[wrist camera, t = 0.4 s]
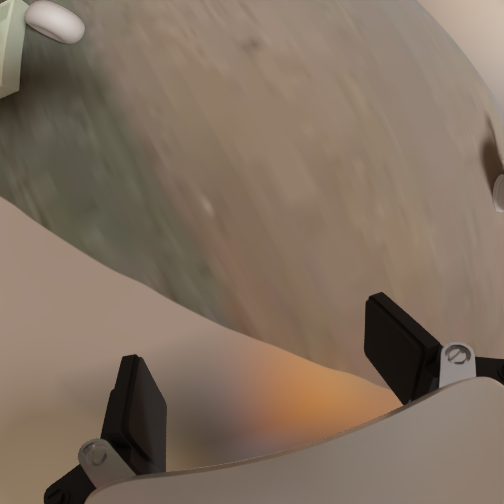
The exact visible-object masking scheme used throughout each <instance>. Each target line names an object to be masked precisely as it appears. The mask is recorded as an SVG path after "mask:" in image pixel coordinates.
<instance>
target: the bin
mask: <svg viewBox="0 0 504 504" xmlns="http://www.w3.org/2000/svg"><path fill="white" fill-rule="evenodd" d="M28 7H29V5H27V4H26V3H25V2H24V1H22V0H7V1H5V2H3V3H1V4H0V99H1V98H3V97H6V96H8V95H10V94H12V93H15V92H17V91H19V84H20V69H21V58H22V49H23V41H24V34H25V28H26V21H25V12H26V10H27V9H28Z"/></svg>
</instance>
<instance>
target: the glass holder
mask: <svg viewBox="0 0 504 504" xmlns="http://www.w3.org/2000/svg"><path fill="white" fill-rule="evenodd" d="M493 204H494V207H495V209H496V210H497V211H498V212H504V174H501V175H499V176H498V177H497V179H496V181H495V184H494V188H493Z"/></svg>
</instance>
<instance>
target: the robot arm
mask: <svg viewBox="0 0 504 504" xmlns="http://www.w3.org/2000/svg"><path fill="white" fill-rule="evenodd" d="M364 352H365V355H366V357H367V358H368V359H369V360H370V362H371V363H372V364H373V366H374V367H375V368H376V370H377V371H378V372H379V374H380V375H381V376H382V377H383V379H384V380H385V381H386V383H387V384H388V385H389V387H390V388H391V389H392V391H393V392H394V393H395V395H396V396H397V397H398V399H399V400H400V401H401V403H402V404H403V405H404V406H402V407H400V408H397V409H396V410H393V411H391V412H389V413H387V414H384V415H382V416H380V417H378V418H375V419H373V420H371V421H368V422H366V423H363V424H361V425H359V426H356V427H353V428H351V429H349V430H345V431H343V432H340V433H338V434H335V435H332V436H329V437H326V438H323V439H320V440H317V441H315V442H311V443H308V444H305V445H301V446H298V447H295V448H291V449H288V450H284V451H280V452H276V453H272V454H269V455H265V456H260V457H256V458H251V459H247V460H242V461H237V462H232V463H227V464H221V465H215V466H209V467H202V468H195V469H188V470H180V471H171V472H166V416H167V406H166V402H165V400H164V398H163V396H162V394H161V392H160V391H159V389H158V387H157V385H156V383H155V381H154V379H153V378H152V375H151V373H150V371H149V370H148V368H147V366H146V364H145V362H144V360H143V358H142V357H138V356H137V355H136V354H135V355H128V356H123V357H122V361H121V364H120V368H119V372H118V377H117V380H116V384H115V388H114V389H113V390H112V391H111V393H110V397H109V401H108V405H107V410H106V414H105V418H104V423H103V428H102V433H101V437H100V439H92V440H89V441H87V442H86V443H85V444H84V445H82V447H81V448H80V450H79V453H78V460H79V463H80V464H79V465H78V466H76V467H75V468H74V469H72V470H71V471H70V472H68V473H67V474H66V475H65V476H63V477H62V478H60V479H59V480H58V481H56V482H55V483H53V484H52V485H51V486H50V487H49V488H48V489H47V490H46V492H45V494H44V504H504V359H495V358H483V357H475V355H474V351H473V350H472V348H471V347H470V346H468V345H467V344H464V343H460V342H452V343H449V344H447V345H446V346H444V347H443V346H442V345H441V344H440V342H438V341H437V340H436V339H435V338H434V337H433V336H432V335H431V334H430V333H429V332H427V331H426V330H425V329H424V328H423V327H422V326H421V325H420V324H419V323H417V322H416V321H415V320H414V319H413V318H412V317H411V316H410V315H408V314H407V313H406V312H405V311H404V310H403V309H402V308H400V307H399V306H398V305H397V304H396V303H395V302H393V301H392V300H391V299H390V298H389V297H388V296H386V295H385V294H384V293H383V292H380V293H377V294H374V295H371V296H369V299H368V300H367V301H366V306H365V338H364Z"/></svg>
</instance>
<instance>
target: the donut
mask: <svg viewBox="0 0 504 504" xmlns="http://www.w3.org/2000/svg"><path fill="white" fill-rule="evenodd" d="M25 21H26V22H27V24H28V25H30V26H31V27H32V28H34V29H35V30H37V31H39V32H41V33H42V34H44V35H46V36H48V37H50V38H52V39H54V40H57V41H59V42H62V43H65V44H73V43H76V42H77V41H79V40H80V39H81V38H82V36H83V35H84V31H85V26H84V24H83V22H82V21H81V19H80V18H79V17H77V16H76V15H75V14H74V13H72V12H71V11H69V10H67V9H66V8H64V7H62V6H60V5H58V4H56V3H53V2H50V1H37V2H34V3H33V4H31V5H30V6H29V7H28V9H27V10H26V12H25Z"/></svg>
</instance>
